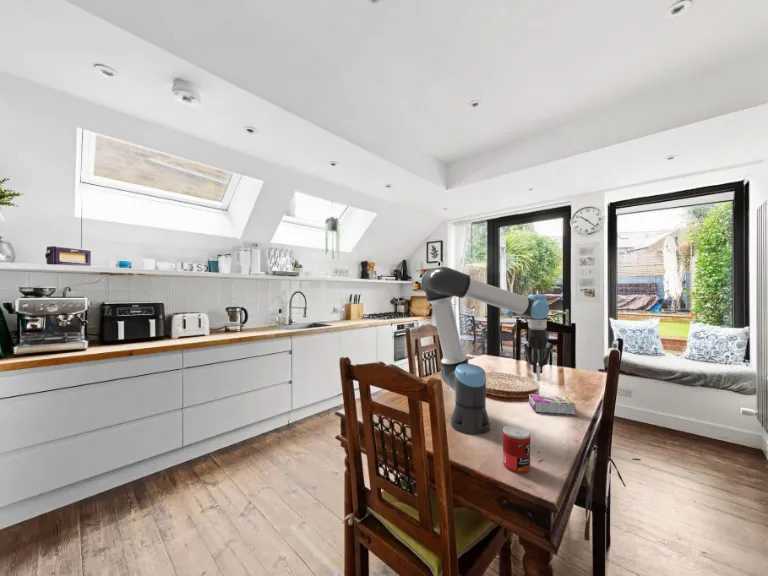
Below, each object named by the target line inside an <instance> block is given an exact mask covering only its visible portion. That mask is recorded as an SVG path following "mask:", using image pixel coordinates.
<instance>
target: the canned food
mask: <svg viewBox="0 0 768 576" xmlns="http://www.w3.org/2000/svg"><path fill="white" fill-rule="evenodd" d="M502 463H503V466H504V467H505V468H506V469H507V470H508V471H510V472H513V473H516V474H527V473H528V472H529V471H530V470H531V432H530V431H529V430H528V429H526V428H524V427H521V426H517V425H507V426H504V427H503V428H502Z"/></svg>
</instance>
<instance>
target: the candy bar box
mask: <svg viewBox="0 0 768 576" xmlns="http://www.w3.org/2000/svg"><path fill="white" fill-rule="evenodd" d="M528 396H529V397H528V403H529V405H530V407H531V408H532V410H533V411H534V412H535V413H539V412H543V413H557V414H571V415H575V414H576V403H575V402H573V401H572V399H570V398H569V397H568V396H567V395H552V394H551V395H550V394H537V393H535V394H534V393H529V395H528Z"/></svg>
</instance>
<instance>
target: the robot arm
mask: <svg viewBox="0 0 768 576" xmlns="http://www.w3.org/2000/svg"><path fill="white" fill-rule="evenodd" d="M420 286H421V288H422V290H423V292H424V293H425V296H426V300H427V303H429V304H430V305H431V308H432V312H433V317H434V320H435V326H436V329H437V334H438V339H439V344H440V347H441V348H440V349H441V351H442V358H441V360H440V363H441V368H440V376H441V379H442V381H444V383H445V384H446V385H447V386H448V387H450V388H451V389H452V390H454V391H455V405H454V409H453V411H452V413H451V416H450V426H451V428H453V429H454V430H456V431H457V432H460V433H463V434H469V435H482V434H485V433H486V434H487V433H488V432H489V431H490V430H491V421H490V420H491V419H490V417H489V414H488V411H487V408H486V403H487V401H486V400H487V399H486V398H487V397H486V396H487V394H486V393H487V392H486V391H487V376H486V371H485V369H484V368H482V367H481V366H479V365H475V364H472V363H469V359H468V356H467V355H466V354H465V353H464V352H463V349H462V343H461V339H460V336H459V331H458V330H459V329H458V327H457V322H456V316H455V312H454V308H453V303H452V299H453V298H454V297H457V298H460V299H463V298H468V299H471V300H474V301H478V302H481V303H484V304H486V305H487V304H488V305H490V306H493V307H496V308H500V309H502V312H503V314H504V315H505V316H507V317H522V318H528V324H527V326H528V338H527V340H526V341H525V342H522V344H521V345H522V347H523V348H524V352H525V355H526V359H527V363H528V365H531V366H532V373H533V374H534V380H535V381H536V382H541V374H543V367H544V366H547V365H548V362H549V358H550V353H551V350H552V349H553V347H554V345H553V344H552V343H550V342H548V338H547V335H548V334H547V333H548V331H547V326H548V325H547V318H548V316H549V313H550V306H549V304H548V303H547V296H546V295H544V294H529V295H528V296H524V295H521V294H518V293H516V292H513V291H509V290H507V289H503V288H501V287H497V286H494V285H491V284H488V283H485V282H482V281H479V280H477V279H474V278H472V277H471V275H469V274H466V273H464V272H461V271H458V270H456V269H453V268H451V267H447V266H439V267H434V268H430V269H428V270H427V271H425V272H424V273H423V275H422V277H421V280H420ZM529 346H530V347H531V352H530V347H529ZM544 348H545V350H544Z"/></svg>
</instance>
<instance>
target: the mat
mask: <svg viewBox="0 0 768 576" xmlns="http://www.w3.org/2000/svg"><path fill="white" fill-rule="evenodd" d="M538 414H539V415H541V416H553V417H554V416H559V417H573V418H574V417H575V418H576V417H579V416H578V415H577V413H575V415H571V414H557V413H543V412H538Z"/></svg>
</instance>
